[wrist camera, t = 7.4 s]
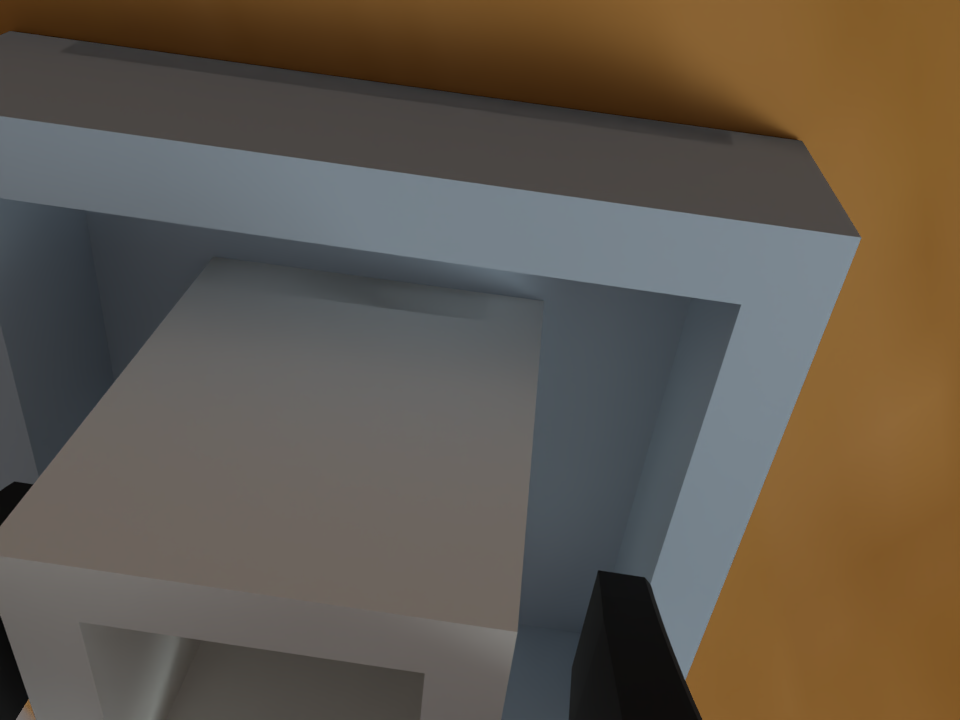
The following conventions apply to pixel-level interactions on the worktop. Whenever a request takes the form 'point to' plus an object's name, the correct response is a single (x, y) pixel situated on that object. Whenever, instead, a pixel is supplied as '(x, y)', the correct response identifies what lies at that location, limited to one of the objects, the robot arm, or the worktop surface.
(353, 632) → the box
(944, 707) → the worktop surface
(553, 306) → the big crate
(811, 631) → the worktop surface
